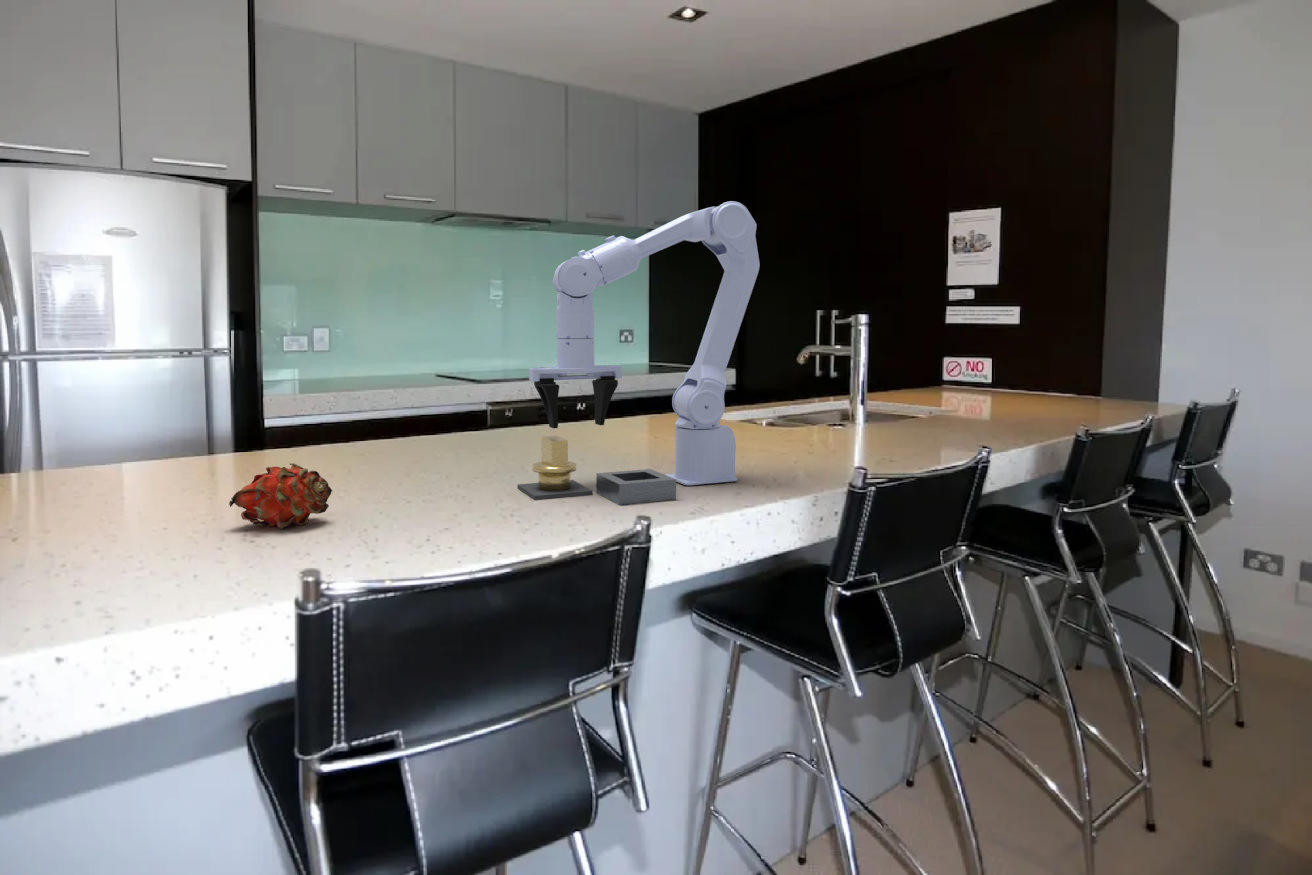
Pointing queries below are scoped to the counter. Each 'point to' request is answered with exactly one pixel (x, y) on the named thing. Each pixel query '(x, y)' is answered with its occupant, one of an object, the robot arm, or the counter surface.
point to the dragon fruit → (283, 496)
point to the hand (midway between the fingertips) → (576, 426)
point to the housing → (635, 486)
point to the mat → (537, 494)
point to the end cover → (554, 465)
